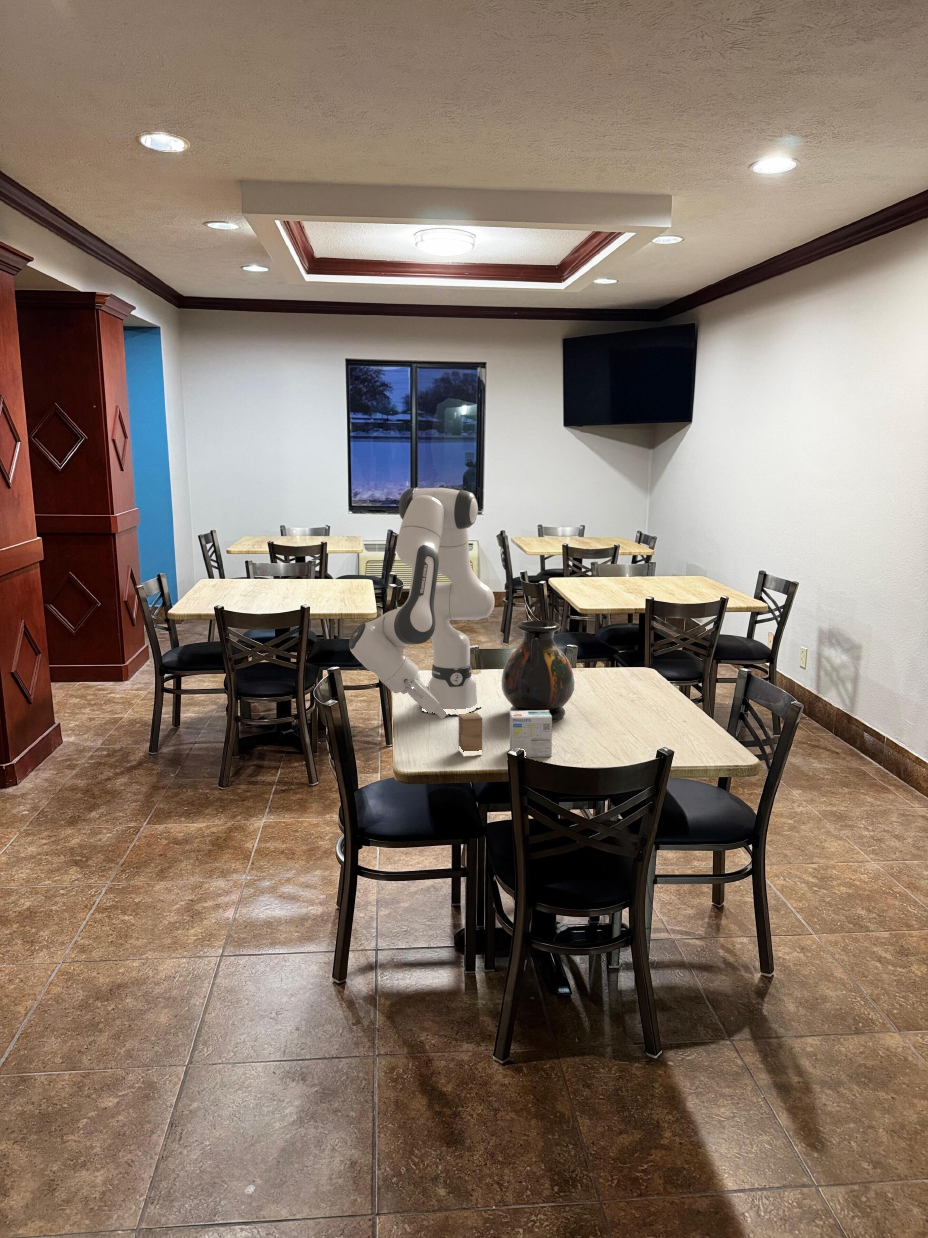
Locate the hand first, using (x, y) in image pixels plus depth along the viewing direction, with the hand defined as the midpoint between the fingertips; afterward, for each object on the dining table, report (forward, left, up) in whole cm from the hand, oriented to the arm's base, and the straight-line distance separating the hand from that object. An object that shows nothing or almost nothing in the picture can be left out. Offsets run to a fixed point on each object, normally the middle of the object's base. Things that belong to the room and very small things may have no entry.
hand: (440, 710), depth 215 cm
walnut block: (0, +8, -12) cm, 14 cm away
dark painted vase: (-27, +36, -12) cm, 47 cm away
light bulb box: (+4, +23, -12) cm, 26 cm away
